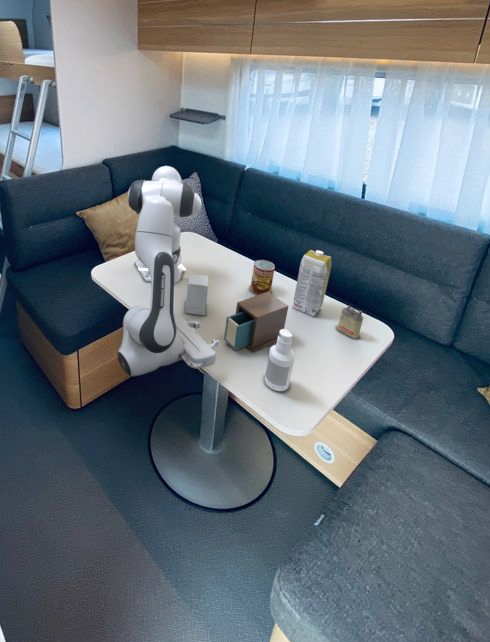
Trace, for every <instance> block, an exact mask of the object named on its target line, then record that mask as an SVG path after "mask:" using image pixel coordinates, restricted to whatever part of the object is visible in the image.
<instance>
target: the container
mask: <svg viewBox="0 0 490 642" xmlns="http://www.w3.org/2000/svg"><path fill="white" fill-rule="evenodd" d="M253 322H254V318H253V317H252V316H251V315H249V314H248V313H247V312H246V311H243V312H240V313H237V314H236V313H235V314H232V315H229V316H227V317H226V321H225V330H224V337H223V340H224V341H225V342H226V343H227V344H228V345H229V346H230V347H231V348H232V349H234V350H235V351H236V350H239V349H241V348H244V347H247V346H246V345H249V344H250V341H251V335H252V329H253Z"/></svg>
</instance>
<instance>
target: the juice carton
mask: <svg viewBox="0 0 490 642" xmlns="http://www.w3.org/2000/svg"><path fill="white" fill-rule="evenodd" d="M331 268H332V257H331V256H330V255H326V254H324V251H322V250H317V249H316V251H314V250H312V249H310V250H308V251H307V252H306V253H304V254H303V256H302V258H301V261H300V265H299V269H298V275H297V281H296V285H295V291H294V296H293V308H294V309H296V310H298V311H300V312H302V313H304V314H307V315H309V316H311V317H314V316H316V314H317V313H318V312H319V311H320V309H321V308H322V306H323V304H324V300H325V295H326V291H327V287H328V284H329V283H328V282H329V278H330V274H331Z"/></svg>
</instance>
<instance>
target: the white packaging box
mask: <svg viewBox="0 0 490 642" xmlns="http://www.w3.org/2000/svg"><path fill="white" fill-rule="evenodd" d="M208 291H209V276H208V275H203V274H192V273H189V274H188V279H187V290H186V301H185V310H184V312H185V314H191V315H197V316H206V308H207V300H208Z"/></svg>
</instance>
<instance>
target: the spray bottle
mask: <svg viewBox="0 0 490 642" xmlns="http://www.w3.org/2000/svg"><path fill="white" fill-rule="evenodd" d="M292 343H293V334H292V332H291V330H289V329H286V328H284V329H281V330H280V333H279V336H278V339H277V341H276V342H275V344H273V345H272V346H271V347H270V348H269V353H268V359H267V363H266V369H265V374H264V381H265V384H266V386H267V387H268V388H269V389H271V390H273V391H276V392H283V391H287V390H288V389H289V387H290V382H291V377H292V372H293V367H294V362H295V358H296V357H295V355H296V354H295V352H294V351H293V350H292Z"/></svg>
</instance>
